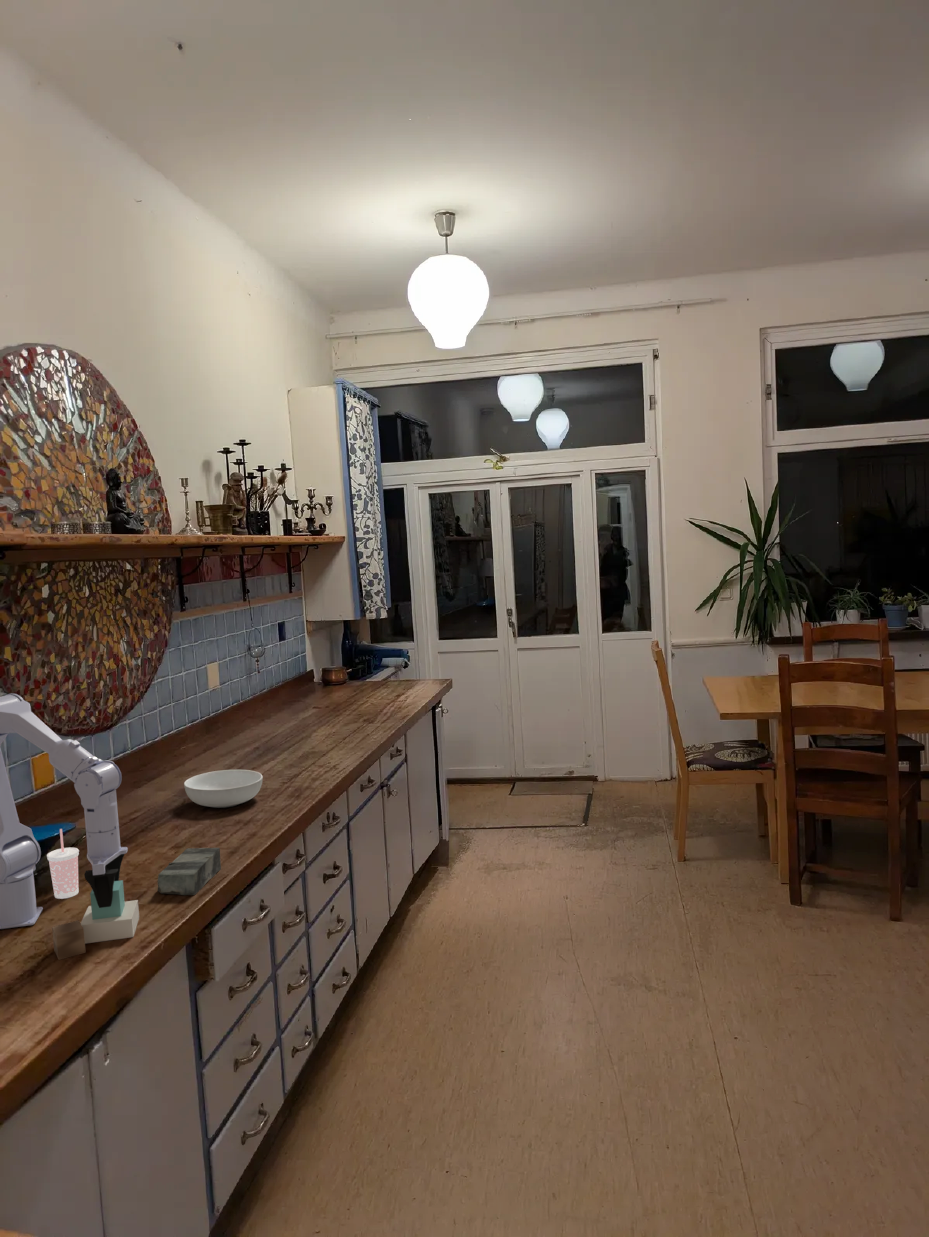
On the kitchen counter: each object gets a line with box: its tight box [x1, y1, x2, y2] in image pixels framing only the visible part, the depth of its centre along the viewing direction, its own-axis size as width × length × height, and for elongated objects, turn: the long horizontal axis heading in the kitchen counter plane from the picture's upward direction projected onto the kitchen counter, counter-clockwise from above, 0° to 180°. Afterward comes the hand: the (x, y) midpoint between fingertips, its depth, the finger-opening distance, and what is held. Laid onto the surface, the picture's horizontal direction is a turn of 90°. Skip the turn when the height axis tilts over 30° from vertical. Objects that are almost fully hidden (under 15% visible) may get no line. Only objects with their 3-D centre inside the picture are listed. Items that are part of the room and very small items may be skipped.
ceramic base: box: [80, 899, 140, 944], centre depth 171 cm, size 9×9×4 cm
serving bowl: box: [183, 769, 264, 809], centre depth 250 cm, size 21×21×7 cm
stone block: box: [157, 847, 222, 896], centre depth 194 cm, size 9×14×5 cm, turn 173°
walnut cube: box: [51, 920, 86, 961], centre depth 163 cm, size 4×4×4 cm
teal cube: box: [89, 879, 125, 920], centre depth 171 cm, size 5×5×5 cm
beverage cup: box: [46, 828, 80, 900], centre depth 189 cm, size 6×6×14 cm
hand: (108, 898), depth 171 cm, fingers open, 7 cm apart
